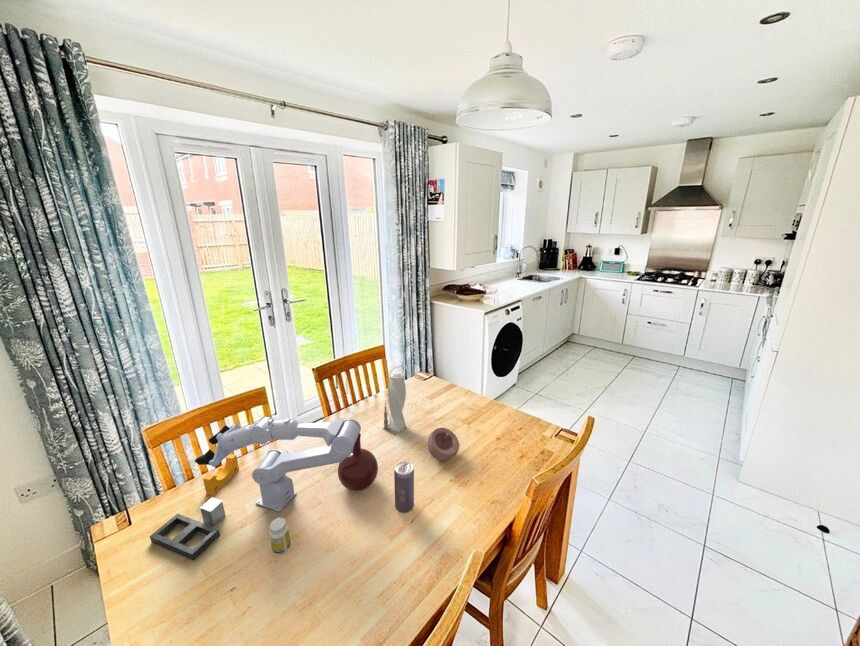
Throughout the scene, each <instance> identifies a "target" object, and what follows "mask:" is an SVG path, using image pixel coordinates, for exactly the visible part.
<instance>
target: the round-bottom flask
mask: <svg viewBox="0 0 860 646" xmlns="http://www.w3.org/2000/svg"><path fill="white" fill-rule="evenodd" d="M361 436H362V434H361V432H360V433H359V436H358V438H357V440H356V442H355V444H354V447H353V450H352V453H351V455H350V456H348V457H346V458H345V459H344V460H343V461H342V462H339V463H338V467H337V477H338V479H339V482H340V484H341V485H342V486H343V487H344V488H345V489H347V490H349V491H352V492H361V491H364V490H366V489H368V488H370V487H371V485H372V484H373V483H374V482H375V481H376V479H377V476H378V471H379V464H378V461H377V459H376V456H375V455H374V454H373V452H371V451H370V450H368V449H365V448H362V447H361V445H362V444H361Z"/></svg>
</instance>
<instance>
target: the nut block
mask: <svg viewBox="0 0 860 646" xmlns="http://www.w3.org/2000/svg"><path fill="white" fill-rule="evenodd" d="M199 510H200V513H201V517H202V520H203V521H202V522H203V523H204V524H206V525H209V526H212V527H214V528H216V526H217V525H218V524H220V522H222V521H223V520H224V518H226V517H227V515H226V512H225V511H226V510H225V507H224V503H223V500H220V499H218V498H215V497H211V498H210V499H208V500H207V501H206V502H205V503H204V504H203V505H201V506H200V507H199Z"/></svg>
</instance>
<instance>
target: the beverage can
mask: <svg viewBox="0 0 860 646" xmlns="http://www.w3.org/2000/svg"><path fill="white" fill-rule="evenodd" d="M393 473H394V477H393V478H394V508H395V509H396V511H398V512H399V513H401V514H408V513H410V512H411V511H412V510H413V508H414V506H415V469H414V466H413V464H412V463H411V462H409V461H400V462H397V463H396V465H395V466H394V470H393Z"/></svg>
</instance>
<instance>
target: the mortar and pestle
mask: <svg viewBox="0 0 860 646" xmlns="http://www.w3.org/2000/svg"><path fill="white" fill-rule="evenodd" d="M426 445H427V449H428V452H429V454H430V455H431V457H433V458H434V459H435V460H437V461H440V462H447V461H450V460H452V459H454V457H456V456H457V455H458V452H459V450H460V441H459V438H458V437H457V435H456V434H455V433H454V432H453V431H452V430H450V429H448V428H446V427H437V428H435V429H433V431H431V433H430V434H429V436H428V438H427V444H426Z"/></svg>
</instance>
